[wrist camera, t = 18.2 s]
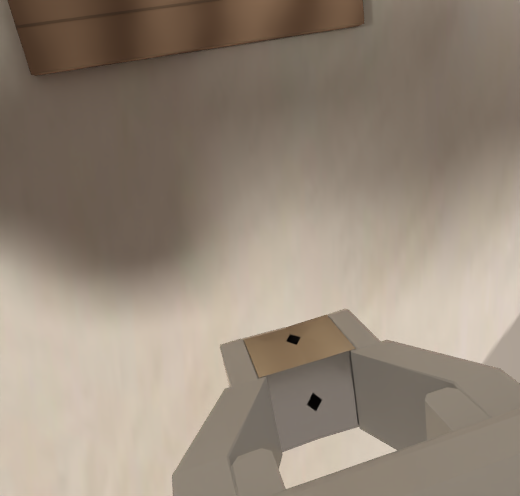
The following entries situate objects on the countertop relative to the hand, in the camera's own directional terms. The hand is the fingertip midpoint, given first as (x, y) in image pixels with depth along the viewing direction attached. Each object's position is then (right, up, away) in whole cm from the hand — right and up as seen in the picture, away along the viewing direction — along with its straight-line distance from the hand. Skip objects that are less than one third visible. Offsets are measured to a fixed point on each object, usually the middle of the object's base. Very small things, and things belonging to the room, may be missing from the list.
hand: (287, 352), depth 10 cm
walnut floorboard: (-5, +20, +22) cm, 31 cm away
